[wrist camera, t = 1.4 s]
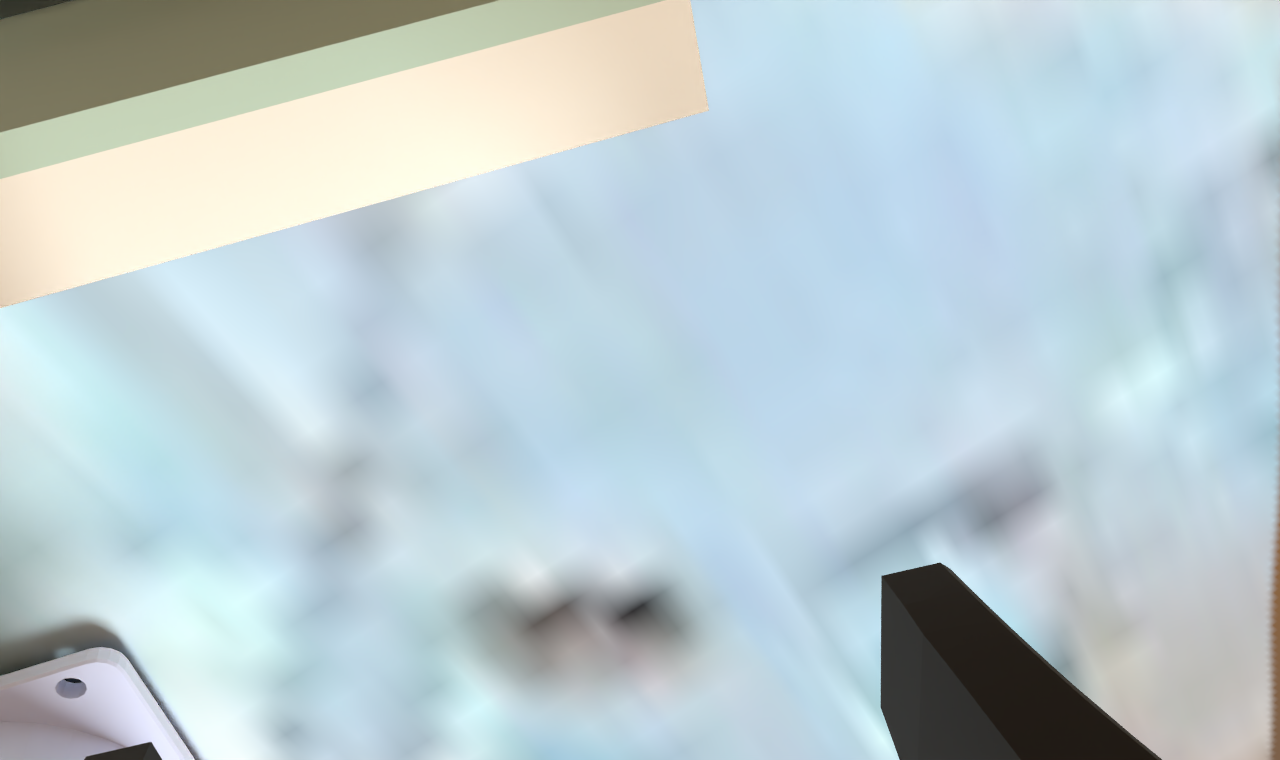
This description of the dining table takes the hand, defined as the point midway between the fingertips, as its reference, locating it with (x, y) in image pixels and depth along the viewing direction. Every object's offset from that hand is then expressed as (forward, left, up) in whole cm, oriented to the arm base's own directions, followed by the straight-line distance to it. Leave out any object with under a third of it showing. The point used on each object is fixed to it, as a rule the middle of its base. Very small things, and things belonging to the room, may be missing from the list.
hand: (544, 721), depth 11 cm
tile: (-1, +5, -10) cm, 11 cm away
